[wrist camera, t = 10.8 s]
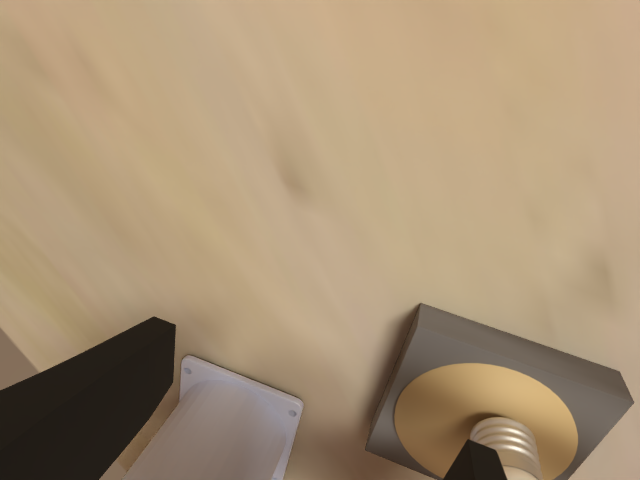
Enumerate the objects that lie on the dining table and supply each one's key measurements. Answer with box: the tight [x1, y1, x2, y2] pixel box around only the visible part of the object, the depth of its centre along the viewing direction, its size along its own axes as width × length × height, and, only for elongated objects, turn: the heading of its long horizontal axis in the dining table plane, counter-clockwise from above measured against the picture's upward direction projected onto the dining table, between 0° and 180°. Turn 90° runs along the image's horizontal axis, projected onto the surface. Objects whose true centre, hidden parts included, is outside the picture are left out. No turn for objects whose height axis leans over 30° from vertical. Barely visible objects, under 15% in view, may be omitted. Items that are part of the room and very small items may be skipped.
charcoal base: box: [365, 303, 634, 480], centre depth 21 cm, size 9×9×2 cm
